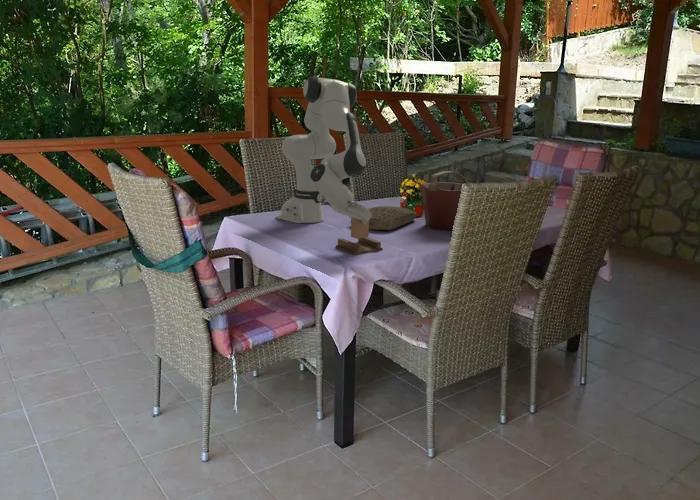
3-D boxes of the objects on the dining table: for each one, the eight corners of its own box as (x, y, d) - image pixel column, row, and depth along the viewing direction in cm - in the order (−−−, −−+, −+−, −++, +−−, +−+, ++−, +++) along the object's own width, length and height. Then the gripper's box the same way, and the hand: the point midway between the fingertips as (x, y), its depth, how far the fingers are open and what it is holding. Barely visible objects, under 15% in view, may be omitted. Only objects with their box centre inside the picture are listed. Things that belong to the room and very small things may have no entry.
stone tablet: (379, 215, 307) (348, 227, 282) (380, 199, 305) (349, 209, 280) (417, 222, 297) (388, 234, 272) (419, 205, 295) (390, 215, 270)
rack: (353, 254, 239) (353, 246, 238) (335, 247, 248) (335, 239, 247) (382, 249, 247) (382, 241, 246) (363, 242, 256) (364, 234, 255)
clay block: (356, 238, 243) (357, 210, 240) (350, 236, 246) (351, 208, 243) (368, 236, 246) (369, 209, 243) (363, 234, 249) (364, 207, 246)
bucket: (433, 234, 273) (437, 176, 267) (408, 222, 293) (411, 169, 286) (480, 229, 284) (485, 174, 277) (452, 219, 303) (456, 167, 296)
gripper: (363, 197, 229) (383, 220, 237) (331, 188, 245) (350, 210, 253) (353, 210, 228) (373, 233, 236) (321, 200, 244) (341, 222, 252)
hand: (361, 221), depth 245 cm, fingers closed on clay block, 3 cm apart
